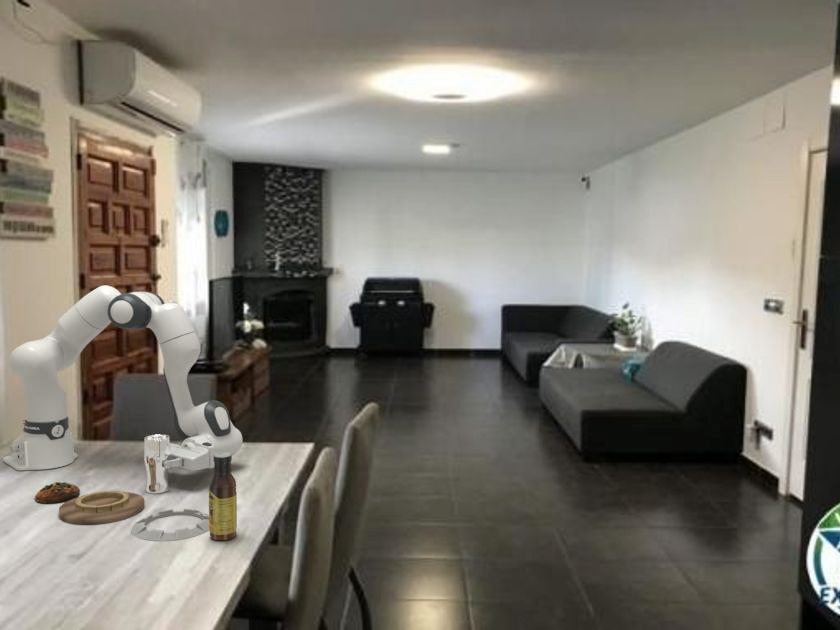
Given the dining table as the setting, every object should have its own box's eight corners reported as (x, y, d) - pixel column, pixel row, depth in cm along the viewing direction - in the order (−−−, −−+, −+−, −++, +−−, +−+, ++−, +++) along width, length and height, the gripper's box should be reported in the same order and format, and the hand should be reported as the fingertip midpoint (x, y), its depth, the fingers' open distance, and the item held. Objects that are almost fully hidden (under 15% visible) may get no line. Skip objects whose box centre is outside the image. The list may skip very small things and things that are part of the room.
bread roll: (61, 505, 185) (59, 486, 185) (25, 507, 187) (23, 488, 187) (90, 493, 196) (88, 475, 196) (55, 495, 198) (53, 477, 198)
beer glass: (162, 495, 195) (161, 441, 193) (139, 493, 196) (138, 439, 195) (175, 487, 201) (175, 435, 200) (153, 485, 203) (152, 433, 202)
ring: (219, 511, 185) (219, 503, 184) (210, 540, 166) (210, 532, 165) (140, 514, 181) (140, 507, 181) (122, 545, 162) (122, 536, 162)
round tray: (42, 513, 180) (42, 501, 179) (114, 492, 196) (114, 481, 196) (89, 531, 169) (88, 518, 168) (160, 507, 185) (160, 496, 185)
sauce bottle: (212, 531, 170) (211, 449, 168) (238, 531, 170) (238, 449, 169) (206, 542, 163) (205, 457, 162) (234, 542, 164) (233, 457, 162)
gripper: (171, 435, 214) (131, 445, 203) (218, 446, 203) (178, 457, 192) (172, 456, 215) (131, 467, 203) (218, 468, 204) (178, 480, 192)
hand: (154, 462), depth 197 cm, fingers closed on beer glass, 6 cm apart
